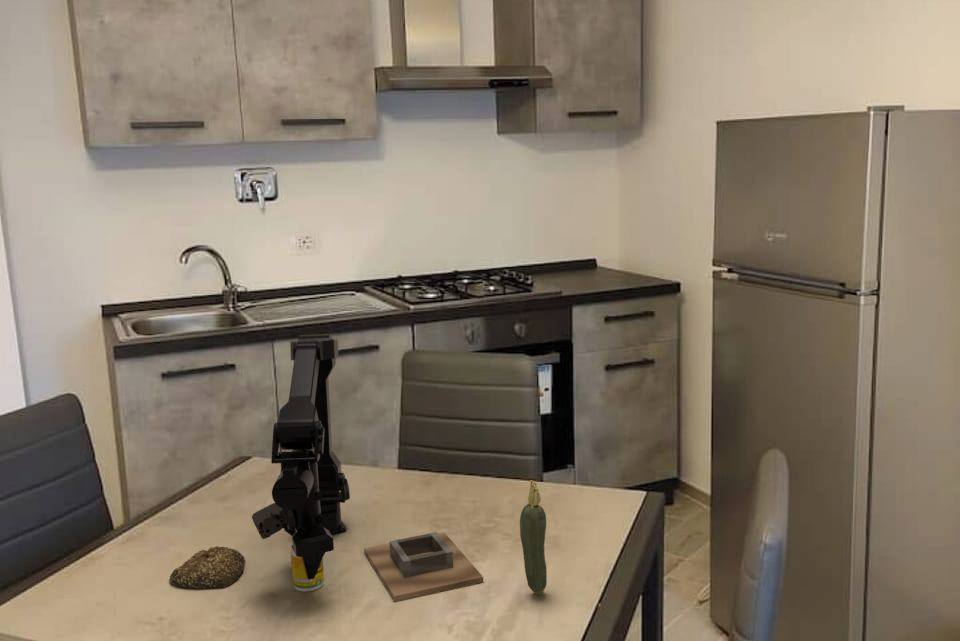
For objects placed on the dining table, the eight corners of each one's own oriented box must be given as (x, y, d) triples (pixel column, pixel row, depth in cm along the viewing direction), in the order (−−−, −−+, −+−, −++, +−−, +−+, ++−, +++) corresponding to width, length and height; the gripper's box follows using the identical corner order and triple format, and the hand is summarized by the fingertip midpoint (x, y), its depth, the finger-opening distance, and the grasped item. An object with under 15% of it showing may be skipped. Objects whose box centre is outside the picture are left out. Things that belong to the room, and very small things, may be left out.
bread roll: (227, 594, 151) (224, 567, 150) (161, 589, 153) (158, 563, 152) (258, 560, 163) (256, 535, 162) (197, 556, 165) (195, 532, 164)
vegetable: (545, 603, 144) (543, 488, 140) (519, 601, 145) (517, 487, 141) (549, 590, 148) (547, 478, 144) (523, 588, 149) (521, 477, 145)
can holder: (364, 553, 164) (363, 533, 163) (444, 537, 170) (443, 517, 169) (394, 601, 146) (393, 579, 145) (483, 582, 151) (482, 560, 151)
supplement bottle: (298, 577, 155) (294, 526, 153) (327, 577, 155) (324, 527, 153) (289, 592, 150) (285, 540, 148) (319, 592, 149) (316, 540, 148)
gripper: (246, 476, 155) (253, 558, 157) (261, 515, 138) (269, 606, 140) (309, 466, 159) (314, 546, 162) (331, 502, 142) (337, 591, 144)
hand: (307, 571), depth 152 cm, fingers closed on supplement bottle, 5 cm apart
